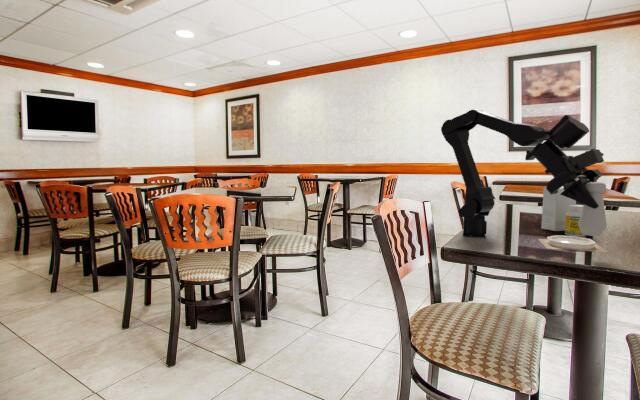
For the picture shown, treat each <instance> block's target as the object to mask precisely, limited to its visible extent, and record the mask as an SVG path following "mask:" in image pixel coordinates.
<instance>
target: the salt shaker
mask: <svg viewBox="0 0 640 400" xmlns="http://www.w3.org/2000/svg"><path fill="white" fill-rule="evenodd" d="M585 187H586V189H587V190H588V192H589V193H590V194H591V196H592V197H593V198H594V199H595V201H596V202H597V204H598V205H599V207H597V208H596V209H594V208H591V207H589V206H587V205H585V204H582V206H583V209H582V212H581V216H580V219H579V223H578V226H579V228H580V230H581V233H582V234H584V235H585V236H591V237H601V236H602V235H603V233H604V232H605V231H606V229H607V227H608V225H607V224H608V223H607V218H606V209H605V208H606V207H605V206H604V202H605V201H604V194H603V193H605V192H606V190H607V185H606V184H605V182H589V183H586V184H585Z"/></svg>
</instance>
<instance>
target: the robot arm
mask: <svg viewBox="0 0 640 400" xmlns="http://www.w3.org/2000/svg"><path fill="white" fill-rule="evenodd" d="M477 125H479V126H481V127H484V128H485V129H488V130H491V131H494V132H497V133H500V134H503V135H504V136H506V137H507V138H508V139H509V140H510V141H512V142H513V143H515V144H516V145H519V146H520V147H533V149H531V150H530V149H529V150H526V151H525V153H526V154H525V160H524V161H533V160H535V159H536V160H537V161H538V163H540V165H542V167H543V168H545V170H544V173H545V174H546V175H551V176H552V177H553V178H551V179H550V180H549V181H548V182H547V183H545V184H546V186H545V187H546V190H547V191H548V192H549V193H550V194H551V195H552V194H557V193H558V189H559V188H561V187H562V186H563V187H564V188H563V189H564V190H565V191H563V192H562V193H561V194H560V195H562V196H566V197H568V198H570V199H573V200H575V201H576V202H578V203H580V204H582V205H584V204H585V205H587V206H589V207H591V208H594V209H596V208H597V207H599V205H598V204H597V202H596V201H595V199H594V198H593V197H592V196H591V194H590V193H589V192H588V190H587V189H586V187H585V184H586V183H589V182H597V181H598V180H599V179H600V178H601V177H602V176H603V175H604V174H603V173H602V172H601V171H600V170H599V169H595V168H594V169H592V168H590V169H587V168H588V167H591V166H592V165H593V166H594V165H596V164H601V163H603V162H605V159H604V157H603V156H604V153H603V152H601V150H600V149H595V148H590V150H586V151H585V152H583V153H580V154H578V155H575V156H574V155H567V154H566V153H565V152H564V151H563V150H562V149H565V148H567V149H570V148H572V147H573V146H574V145H575V144H577V143H578V142H579V141H580V140H581V139H583V138H584V137H585V136H586V135H587V134H588V133H589V132H590V129H589V128H588V126H587V125H585V123H584V122H581V121H579V120H578V119H575V118H574V117H572V116H571V115H570V114H566V115H564V116H562V117H561V118H560V120H559V121H558V122H557V123H556V124H555V125H554V126H553V127H552V128H551V129H545V128H544V127H543V126H540V125H536V124H528V123H520V122H514V121H511V120H508V119H506V118H502V117H500V116H497V115H494V114H491V113H488V112H485V111H484V110H482V109H474V108H473V109H470V110H469V111H466V112H464V113H463V114H461V115H458V116H456V117H453V118H451V119H447V120H445V121H444V122H443V123H442V125H441V127H440V131H441V134H442V136H443V137H444V139H445V141H446V142H447V144H448V145H450V147H451V148H452V149H453V153H454V155H455V158H456V161H457V164H458V167H459V168H458V169H459V170H460V173H461V177H462V179H463V182H464V185H465V191H464V193H465V194H464V201H465V203H464V205H463V206H461V207H460V209H458V214H459V217H460V218H463V223H462V224H463V226H462V227H463V229H462V236H463V237H476V238H477V237H478V238H485V237H486V235H487V230H488V228H487V223H488V222H487V220H486V217H487V216H489V214H490V212H491V210H493V209H494V206H495V200H496V197H495V196H494V193H493V188H492V187H491V186H487V187H486V186H485V185H484V184H483V183H482V180H481V177H480V174H479V171H478V168H477V166H476V162H475V159H474V156H473V154H472V153H473V152H472V151H471V149H470V146H469V139H470V138H469V137H470V131H471V130H474V128H475V127H476V126H477ZM605 206H606V203H605V201H604V207H605Z"/></svg>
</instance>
